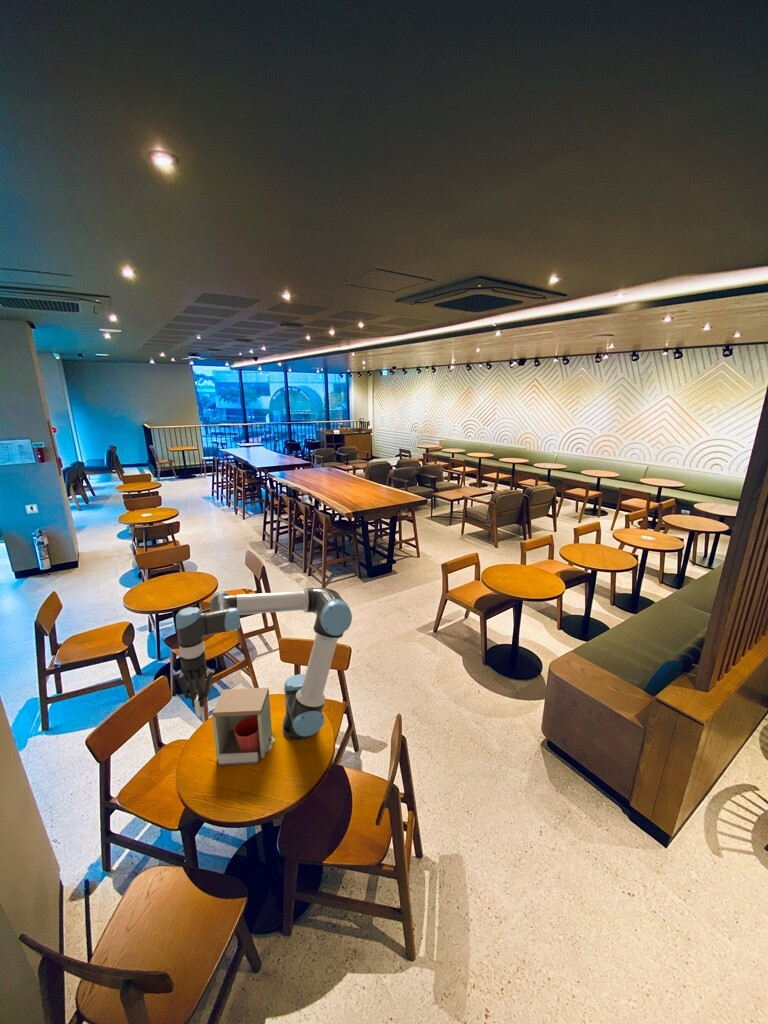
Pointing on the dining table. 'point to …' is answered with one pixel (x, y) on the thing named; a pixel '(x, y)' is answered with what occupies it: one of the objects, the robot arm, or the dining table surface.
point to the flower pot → (247, 735)
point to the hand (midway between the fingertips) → (199, 714)
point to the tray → (237, 754)
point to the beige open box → (241, 715)
